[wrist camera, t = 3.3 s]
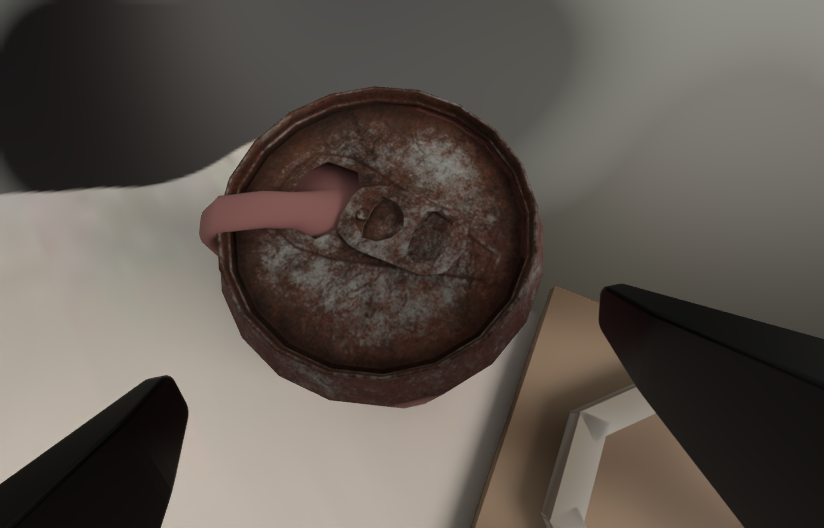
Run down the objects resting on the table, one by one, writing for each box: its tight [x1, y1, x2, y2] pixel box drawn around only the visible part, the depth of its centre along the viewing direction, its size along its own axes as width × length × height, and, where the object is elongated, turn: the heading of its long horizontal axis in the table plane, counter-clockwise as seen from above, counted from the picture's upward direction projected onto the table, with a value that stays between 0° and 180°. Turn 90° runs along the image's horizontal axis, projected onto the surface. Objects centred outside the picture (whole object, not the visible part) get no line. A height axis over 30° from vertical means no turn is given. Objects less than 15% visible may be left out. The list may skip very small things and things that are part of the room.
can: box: [199, 87, 543, 408], centre depth 13 cm, size 6×6×14 cm
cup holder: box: [471, 286, 744, 528], centre depth 17 cm, size 15×15×2 cm
